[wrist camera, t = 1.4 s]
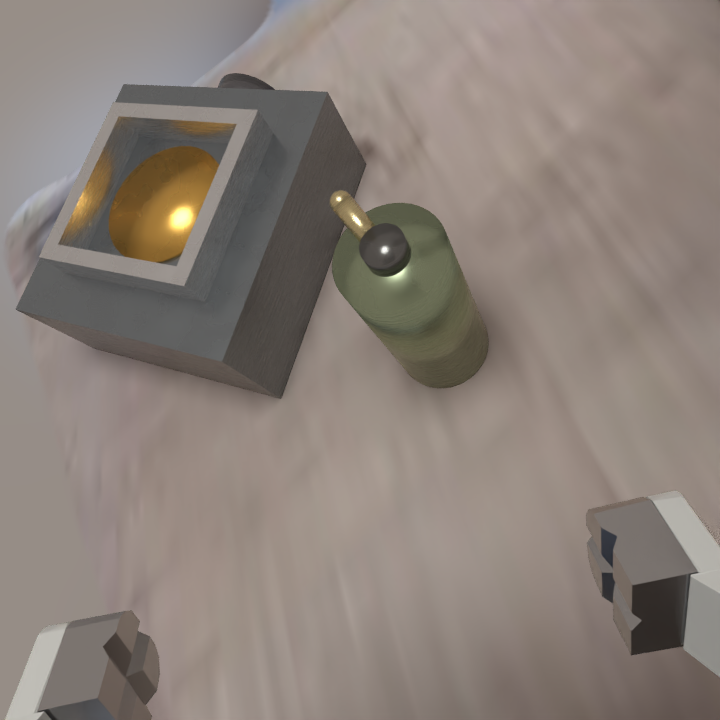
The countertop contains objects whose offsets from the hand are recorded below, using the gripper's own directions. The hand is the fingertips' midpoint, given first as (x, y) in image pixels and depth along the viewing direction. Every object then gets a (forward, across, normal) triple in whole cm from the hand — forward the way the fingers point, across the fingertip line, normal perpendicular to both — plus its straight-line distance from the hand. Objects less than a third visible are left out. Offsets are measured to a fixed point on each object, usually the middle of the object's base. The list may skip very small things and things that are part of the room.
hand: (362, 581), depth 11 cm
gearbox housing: (+35, +8, +7) cm, 36 cm away
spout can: (+24, -5, +11) cm, 27 cm away
